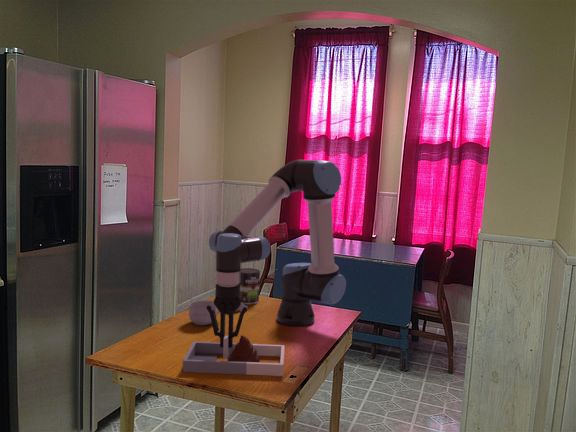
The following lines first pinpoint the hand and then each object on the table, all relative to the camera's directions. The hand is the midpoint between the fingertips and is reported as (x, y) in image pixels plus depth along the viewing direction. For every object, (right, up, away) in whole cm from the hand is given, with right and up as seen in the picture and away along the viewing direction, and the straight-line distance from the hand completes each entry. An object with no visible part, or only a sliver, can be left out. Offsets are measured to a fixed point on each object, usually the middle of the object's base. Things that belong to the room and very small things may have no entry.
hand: (226, 357), depth 161 cm
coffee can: (+1, +6, +69) cm, 69 cm away
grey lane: (-2, -2, 0) cm, 3 cm away
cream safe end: (+12, -2, 0) cm, 12 cm away
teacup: (-12, +3, +38) cm, 40 cm away
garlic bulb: (-4, +4, +54) cm, 55 cm away
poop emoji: (+6, -2, 0) cm, 6 cm away
